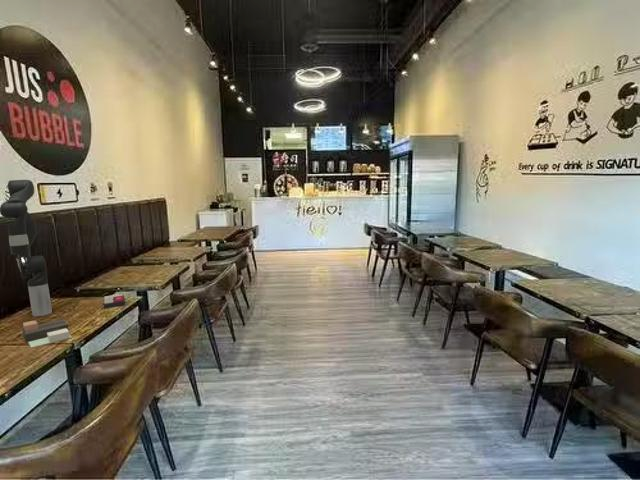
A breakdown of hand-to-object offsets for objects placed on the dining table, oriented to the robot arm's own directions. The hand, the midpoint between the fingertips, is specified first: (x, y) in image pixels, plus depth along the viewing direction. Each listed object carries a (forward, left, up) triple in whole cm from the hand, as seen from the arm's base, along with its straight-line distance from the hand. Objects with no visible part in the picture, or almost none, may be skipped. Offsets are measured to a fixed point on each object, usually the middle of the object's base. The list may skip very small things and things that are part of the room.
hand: (24, 278), depth 199 cm
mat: (+23, +4, -27) cm, 35 cm away
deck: (+12, +4, -27) cm, 29 cm away
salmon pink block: (+11, -1, -23) cm, 25 cm away
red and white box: (-16, +43, -28) cm, 53 cm away
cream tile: (+24, +7, -24) cm, 34 cm away
